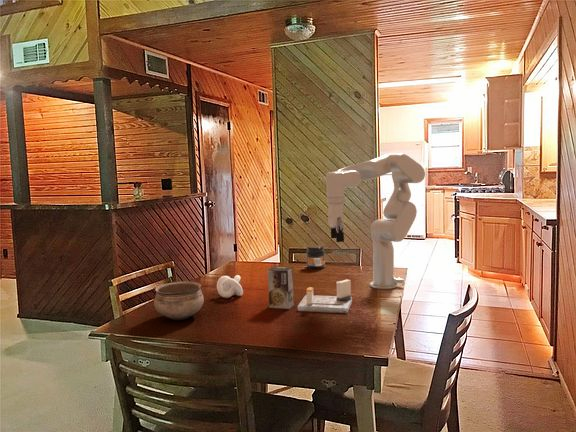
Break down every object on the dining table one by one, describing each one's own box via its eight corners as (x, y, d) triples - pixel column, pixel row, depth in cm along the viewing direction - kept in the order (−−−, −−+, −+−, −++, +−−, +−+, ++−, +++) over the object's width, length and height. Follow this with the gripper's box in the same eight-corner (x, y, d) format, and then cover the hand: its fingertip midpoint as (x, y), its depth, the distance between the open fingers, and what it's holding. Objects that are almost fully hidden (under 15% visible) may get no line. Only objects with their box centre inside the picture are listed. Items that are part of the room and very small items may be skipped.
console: (351, 301, 202) (351, 296, 202) (347, 313, 187) (347, 307, 186) (305, 299, 207) (305, 294, 207) (297, 310, 191) (297, 305, 191)
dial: (343, 295, 204) (343, 278, 203) (354, 297, 199) (354, 280, 199) (333, 298, 200) (332, 281, 199) (344, 301, 195) (343, 283, 194)
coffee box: (294, 304, 200) (293, 267, 198) (289, 309, 194) (288, 270, 192) (273, 303, 203) (272, 266, 201) (268, 307, 197) (267, 269, 195)
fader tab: (313, 301, 196) (313, 287, 195) (311, 303, 192) (311, 290, 191) (308, 300, 196) (308, 287, 195) (306, 303, 192) (306, 289, 191)
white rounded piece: (250, 295, 216) (250, 275, 215) (230, 301, 208) (229, 281, 207) (234, 291, 224) (233, 272, 223) (214, 296, 215) (213, 277, 214)
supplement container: (319, 270, 262) (318, 248, 261) (303, 268, 268) (302, 247, 266) (328, 266, 271) (328, 245, 269) (312, 264, 276) (311, 244, 275)
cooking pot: (197, 328, 175) (195, 295, 173) (146, 329, 175) (143, 296, 174) (210, 307, 199) (208, 278, 198) (165, 308, 200) (163, 279, 199)
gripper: (322, 199, 213) (324, 237, 215) (331, 203, 196) (333, 244, 198) (339, 198, 214) (340, 236, 216) (349, 201, 197) (351, 242, 199)
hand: (337, 239), depth 207 cm, fingers open, 9 cm apart
